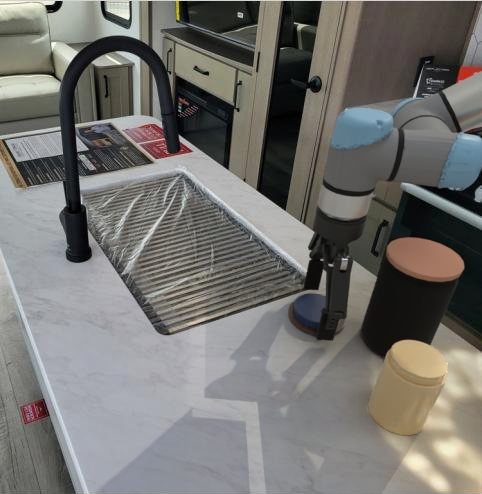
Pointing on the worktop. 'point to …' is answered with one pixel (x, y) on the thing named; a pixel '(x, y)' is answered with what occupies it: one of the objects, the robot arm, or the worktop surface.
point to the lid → (309, 309)
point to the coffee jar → (410, 293)
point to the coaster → (309, 330)
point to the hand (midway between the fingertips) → (317, 312)
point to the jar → (408, 387)
